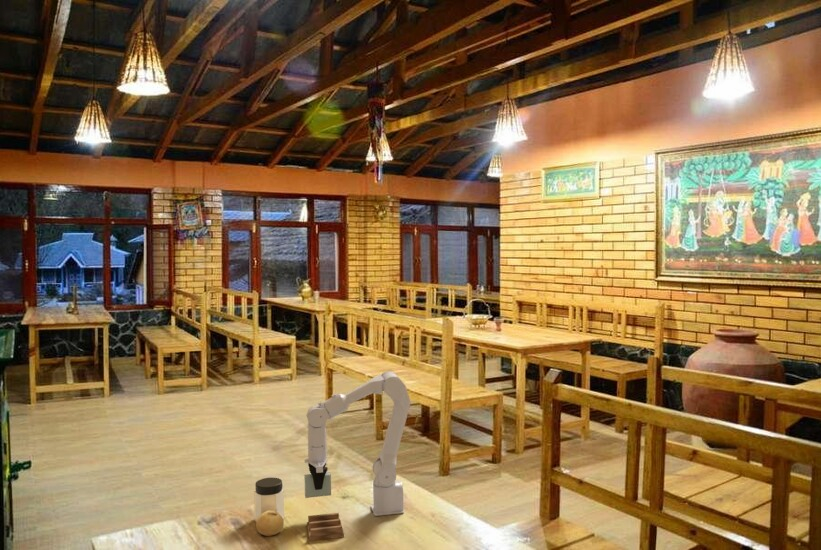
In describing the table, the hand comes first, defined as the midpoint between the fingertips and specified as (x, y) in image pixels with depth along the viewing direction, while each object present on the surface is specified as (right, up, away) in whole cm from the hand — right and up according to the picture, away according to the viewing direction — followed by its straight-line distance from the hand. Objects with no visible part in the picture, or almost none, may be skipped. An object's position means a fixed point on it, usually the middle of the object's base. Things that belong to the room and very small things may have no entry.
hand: (318, 487), depth 202 cm
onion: (-13, -10, -10) cm, 19 cm away
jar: (-15, -10, -1) cm, 18 cm away
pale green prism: (0, -3, 0) cm, 3 cm away
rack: (+3, -10, -9) cm, 14 cm away
